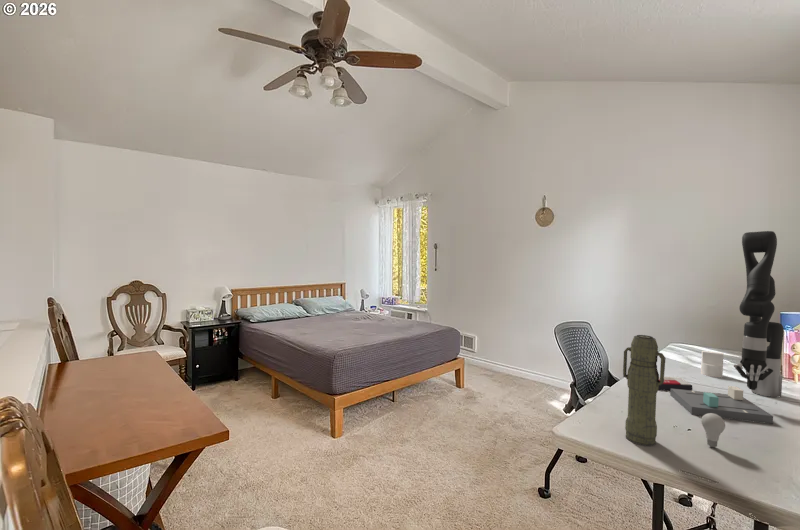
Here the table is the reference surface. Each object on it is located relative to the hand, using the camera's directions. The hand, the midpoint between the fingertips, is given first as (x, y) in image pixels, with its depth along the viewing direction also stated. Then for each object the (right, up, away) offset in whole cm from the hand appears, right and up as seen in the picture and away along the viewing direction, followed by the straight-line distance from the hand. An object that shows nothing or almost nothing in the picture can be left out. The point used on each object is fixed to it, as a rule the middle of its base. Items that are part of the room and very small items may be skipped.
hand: (751, 389), depth 162 cm
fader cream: (-5, -4, +2) cm, 7 cm away
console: (-16, -7, -2) cm, 18 cm away
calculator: (-18, -7, +23) cm, 30 cm away
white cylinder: (+19, -7, +44) cm, 49 cm away
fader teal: (-22, -4, -7) cm, 24 cm away
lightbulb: (-45, -8, -35) cm, 57 cm away
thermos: (-65, -7, -31) cm, 73 cm away
